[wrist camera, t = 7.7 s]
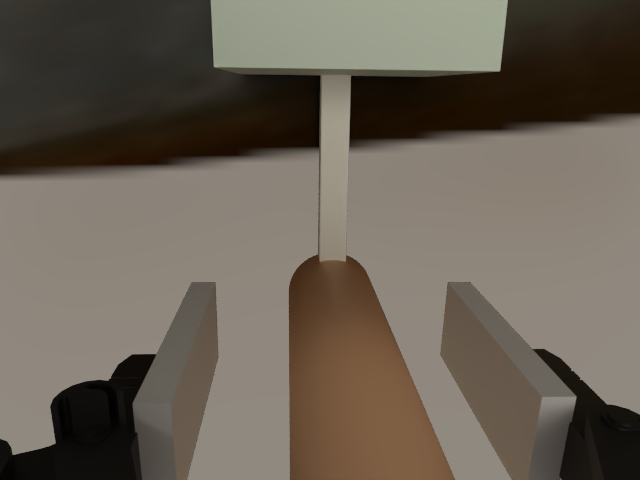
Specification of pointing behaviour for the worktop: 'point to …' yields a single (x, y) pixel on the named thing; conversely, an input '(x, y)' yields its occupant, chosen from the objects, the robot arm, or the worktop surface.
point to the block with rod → (332, 262)
